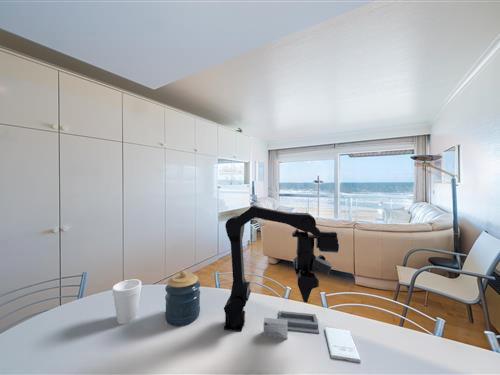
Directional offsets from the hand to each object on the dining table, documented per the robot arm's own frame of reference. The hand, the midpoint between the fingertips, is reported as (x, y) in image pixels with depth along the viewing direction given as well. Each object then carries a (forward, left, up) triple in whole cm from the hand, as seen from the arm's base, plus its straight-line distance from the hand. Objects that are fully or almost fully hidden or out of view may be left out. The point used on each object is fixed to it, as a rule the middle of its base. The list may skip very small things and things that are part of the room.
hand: (303, 294), depth 72 cm
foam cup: (-66, -2, -14) cm, 67 cm away
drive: (-10, -2, -14) cm, 17 cm away
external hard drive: (+11, -3, -14) cm, 19 cm away
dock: (-2, +6, -13) cm, 15 cm away
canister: (-46, +3, -14) cm, 48 cm away
